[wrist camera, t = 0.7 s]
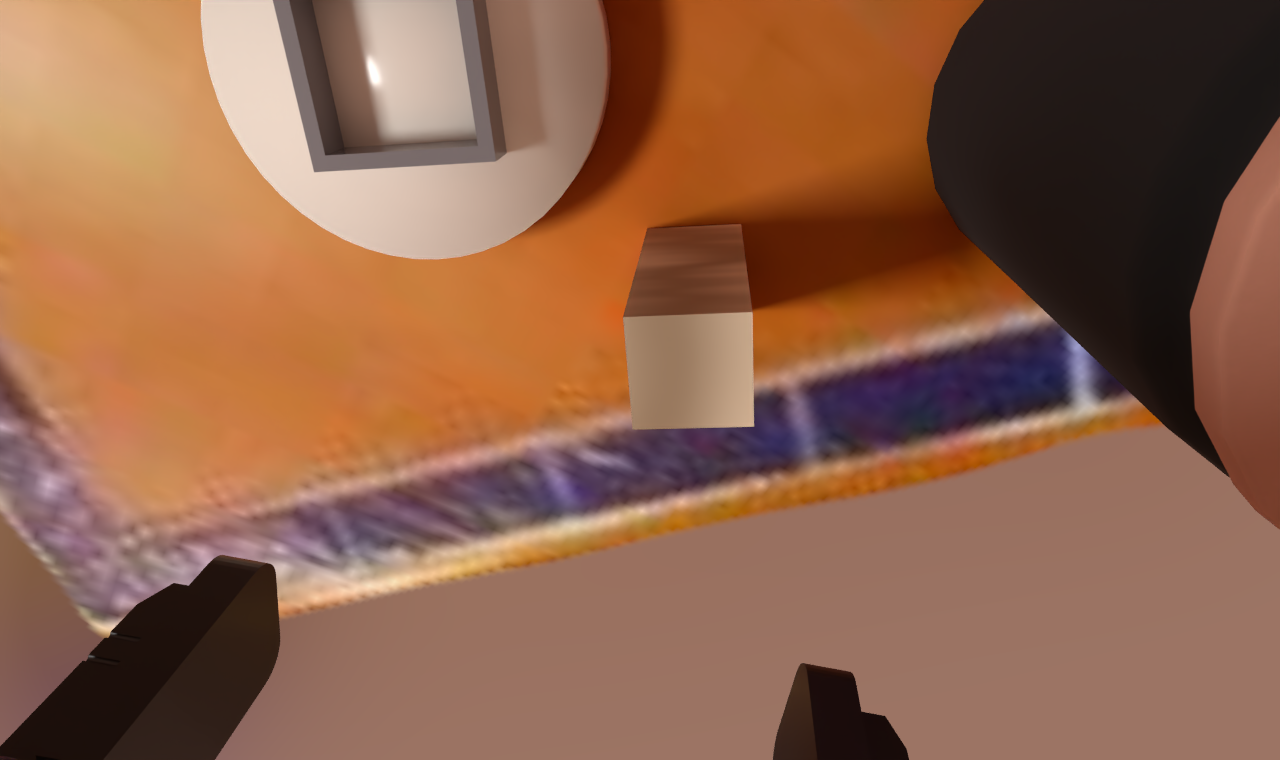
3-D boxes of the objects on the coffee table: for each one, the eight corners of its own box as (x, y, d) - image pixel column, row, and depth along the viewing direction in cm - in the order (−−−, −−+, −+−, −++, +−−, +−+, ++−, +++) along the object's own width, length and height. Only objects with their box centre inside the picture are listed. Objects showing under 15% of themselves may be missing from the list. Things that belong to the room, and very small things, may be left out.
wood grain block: (741, 223, 29) (752, 312, 21) (742, 312, 31) (753, 426, 22) (647, 228, 29) (623, 317, 21) (653, 315, 31) (632, 429, 23)
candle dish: (591, -191, 24) (573, -219, 21) (625, 235, 30) (615, 263, 26) (184, -149, 25) (109, -169, 22) (289, 251, 31) (241, 280, 28)
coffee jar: (1327, 109, 26) (2343, 301, 10) (1036, 322, 30) (1422, 711, 14) (1146, -166, 23) (2133, -527, 7) (851, 106, 27) (1059, 274, 11)
